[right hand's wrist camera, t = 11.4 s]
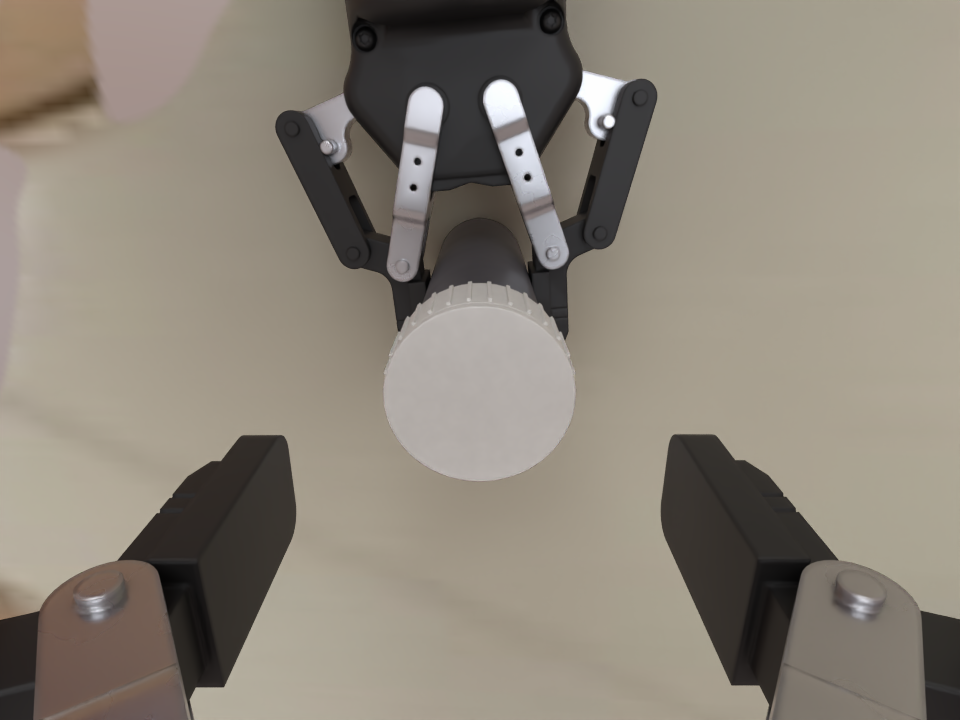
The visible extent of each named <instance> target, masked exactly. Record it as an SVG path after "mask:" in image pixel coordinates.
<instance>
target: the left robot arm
mask: <svg viewBox="0 0 960 720" xmlns="http://www.w3.org/2000/svg"><path fill="white" fill-rule="evenodd" d="M345 3H346V10H347V17H348V24H349V31H350V38H351V61H350V66H349V70H348V73H347V75H346V78H345V81H344V93H342V94H340V95H338V96H336V97H333V98H331V99H329V100H327V101H325V102H323V103H321V104H318V105H316V106H314V107H312V108H310V109H308V110H306V111H292V110H290V111H285V112H283V113H282V114H280V115H279V117H278V118H277V120H276V125H275V128H276V133H277V136H278V138H279V140H280V142H281V144H282V146H283V148H284V150H285V152H286V154H287V156H288V158H289V160H290V162H291V164H292V166H293V168H294V170H295V172H296V174H297V176H298V178H299V180H300V182H301V184H302V186H303V188H304V190H305V192H306V194H307V196H308V198H309V200H310V202H311V204H312V206H313V208H314V210H315V212H316V214H317V216H318V218H319V220H320V222H321V224H322V226H323V228H324V230H325V232H326V234H327V236H328V238H329V240H330V242H331V244H332V246H333V248H334V250H335V252H336V254H337V256H338V258H339V260H340V261H341V263H342V264H343V265H344V266H346V267H348V268H351V269H358V268H364V269H368V270H372V271H375V272H378V273H381V274H382V275H384V276H385V277H386V278H387V279H388V280H389V282H390V284H391V286H392V292H393V299H394V306H395V313H396V320H397V327H398V332H400V331H401V329H402V326H403V324H404V321H405V319H406V317H407V316H408V317H411V315H412V314H413V313H414V312H415V310H416V307H417V305H418V304H419V303H421V304H422V303H423V301H424V298H425V295H426V292H427V289H428V286H429V283H430V280H431V276H430V270H424V262H423V257H424V252H425V246H426V240H427V234H428V228H429V222H430V217H431V213H432V208H433V203H434V197H435V191H445V190H451V189H454V188H457V187H459V186H462V185H465V184H467V183H478V184H483V185H488V186H502V185H511V187H512V190H513V193H514V196H515V199H516V202H517V204H518V207H519V210H520V212H521V215H522V218H523V221H524V224H525V226H526V229H527V232H528V235H529V238H530V241H531V243H532V259H533V261H530V262H528V275H529V278H530V281H531V284H532V287H533V291H534V294H535V297H536V300H537V303H538V304H539V303H540V304H541V305H542V306H543V309H544V311H545V312H546V314H547V315H548V316H549V317H551V316H552V317H553V318H554V320H555V323H556V326H557V328H558V331H559V332H561V333H562V335H563V338H564V340H565V339H566V337H567V334H568V303H567V269H568V266H569V264H570V263H571V261H572V260H573V259H574V258H576V257H577V256H579V255H581V254H583V253H585V252H588V251H590V250H592V249H604V248H606V247H608V246H609V245H611V244H612V242H613V241H614V239H615V236H616V233H617V230H618V226H619V223H620V220H621V217H622V213H623V210H624V207H625V203H626V200H627V197H628V194H629V190H630V187H631V184H632V180H633V177H634V174H635V171H636V167H637V164H638V161H639V157H640V154H641V151H642V148H643V144H644V141H645V138H646V134H647V131H648V128H649V125H650V121H651V118H652V115H653V111H654V108H655V105H656V101H657V91H656V88H655V86H654V85H653V84H652V82H650V81H648V80H646V79H636V80H631V81H623V80H619V79H615V78H611V77H607V76H603V75H599V74H595V73H591V72H587V71H583V69H582V64H581V61H580V59H579V56H578V55H577V53H576V51H575V50H574V48H573V46H572V43H571V41H570V38H569V34H568V30H567V24H566V0H345ZM574 100H577V101H578V102H580V103H581V105H582V106H583V108H584V110H585V129H586V131H587V133H588V134H589V135H590V136H591V137H592V138H595V139H598V140H597V143H596V147H595V151H594V154H593V158H592V161H591V165H590V169H589V172H588V176H587V179H586V183H585V187H584V190H583V194H582V197H581V201H580V205H579V208H578V212H577V215H576V216H574V217H572V218H569V219H567V220H565V221H563V222H561V223H560V222H559V219H558V216H557V213H556V210H555V207H554V202H553V198H552V195H551V192H550V189H549V186H548V183H547V180H546V177H545V174H544V171H543V168H542V165H541V162H540V159H539V158H540V156H541V155H542V153H543V151H544V150H545V148H546V146H547V145H548V143H549V141H550V140H551V138H552V136H553V135H554V133H555V131H556V130H557V128H558V126H559V125H560V123H561V121H562V120H563V118H564V117H565V115H566V113H567V112H568V110H569V108H570V107H571V105H572V103H573V102H574ZM356 120H357V121H358V122H359V124H360V125H361V126H362V127H363V128H364V129H365V130H366V132H367V133H368V134H369V135H370V136H371V137H372V139H373V140H374V141H375V142H376V143H377V144H378V145H379V147H380V148H381V149H382V150H383V151H384V152H385V153H386V155H387V156H388V157H389V158H390V159H391V160H392V162H393V163H394V164H395V165H396V166H397V167H398V168H399V173H398V180H397V187H396V193H395V200H394V207H393V225H392V232H391V237H390V236H386V235H382V234H379V233H376V231H375V229H374V227H373V225H372V223H371V221H370V219H369V217H368V214H367V212H366V210H365V208H364V206H363V204H362V202H361V199H360V197H359V195H358V193H357V191H356V189H355V187H354V185H353V182H352V180H351V178H350V176H349V174H348V172H347V170H346V167H345V165H344V163H343V162H344V161H346V160H347V159H348V158H349V157H350V155H351V153H352V143H351V139H350V129H351V126H352V124H353V123H354V122H355V121H356Z"/></svg>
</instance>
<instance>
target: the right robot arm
mask: <svg viewBox="0 0 960 720" xmlns="http://www.w3.org/2000/svg"><path fill="white" fill-rule="evenodd" d="M661 522H662V529H663V533H664V536H665V539H666V541H667V543H668V545H669V548H670V550H671V552H672V554H673V557H674V559H675V561H676V563H677V565H678V568H679V570H680V572H681V574H682V577H683V579H684V581H685V583H686V585H687V588H688V590H689V592H690V594H691V596H692V599H693V601H694V603H695V605H696V608H697V610H698V612H699V614H700V616H701V619H702V621H703V623H704V625H705V628H706V630H707V632H708V634H709V636H710V639H711V641H712V643H713V645H714V648H715V650H716V652H717V654H718V656H719V659H720V661H721V663H722V665H723V667H724V670H725V672H726V674H727V676H728V679H729V681H730V683H731V685H760V687H761V689H762V691H763V693H764V695H765V697H766V699H767V701H768V703H769V708H768V712H767V716H766V720H960V619H956V618H951V617H947V616H942V615H937V614H933V613H928V612H924V611H920V609H919V607H918V605H917V603H916V602H915V600H914V599H913V598H912V596H911V595H910V594H909V593H908V592H907V591H906V590H905V589H903V588H902V587H901V586H900V585H898V584H897V583H896V582H894V581H893V580H891V579H890V578H888V577H886V576H884V575H882V574H881V573H879V572H876V571H874V570H872V569H870V568H867V567H864V566H861V565H858V564H854V563H851V562H845V561H839V560H838V559H837V558H836V556H835V555H834V554H833V553H832V552H831V550H830V549H829V548H828V547H827V545H826V544H825V543H824V542H823V541H822V539H821V538H820V537H819V536H818V535H817V533H816V532H815V531H814V530H813V529H812V527H811V526H810V525H809V524H808V523H807V521H806V520H805V519H804V518H803V517H802V515H801V514H800V513H799V512H796V508H795V507H794V506H793V504H792V503H791V502H790V501H789V500H788V498H787V497H784V496H783V492H782V491H781V490H780V489H779V488H778V486H777V485H776V484H775V483H774V482H773V480H772V479H771V478H770V477H769V476H768V475H767V474H765V473H764V472H762V471H761V470H759V469H757V468H756V467H754V466H753V465H751V464H750V463H748V462H747V461H745V460H735V459H734V458H733V457H732V455H731V454H730V453H729V452H728V450H727V449H726V448H725V446H724V445H723V444H722V442H721V441H720V440H719V439H718V437H717V436H715V435H712V434H675V435H673V436H672V437H671V440H670V443H669V447H668V455H667V462H666V470H665V478H664V485H663V493H662V500H661ZM295 523H296V502H295V494H294V487H293V479H292V472H291V464H290V457H289V449H288V444H287V441H286V439H285V437H284V436H282V435H243V436H241V437H240V438H239V439H238V440H237V441H236V443H235V444H234V445H233V446H232V448H231V449H230V450H229V452H228V453H227V454H226V455H225V457H224V458H223V459H222V461H211V462H210V463H208V464H207V465H205V466H203V467H202V468H200V469H199V470H197V471H196V472H194V473H193V474H191V475H189V476H188V477H187V478H186V479H185V480H184V482H183V483H182V484H181V485H180V486H179V487H178V489H177V490H176V491H175V492H174V493H173V497H172V498H169V499H168V501H167V502H166V503H165V504H164V505H163V507H162V508H161V509H160V513H157V514H156V515H155V516H154V517H153V519H152V520H151V521H150V522H149V523H148V525H147V526H146V527H145V528H144V529H143V531H142V532H141V533H140V534H139V535H138V536H137V538H136V539H135V540H134V541H133V542H132V544H131V545H130V546H129V547H128V548H127V550H126V551H125V552H124V553H123V554H122V556H121V557H120V558H119V559H118V560H117V561H115V562H109V563H106V564H102V565H99V566H96V567H93V568H90V569H88V570H86V571H84V572H81V573H79V574H77V575H76V576H74V577H72V578H70V579H69V580H67V581H66V582H64V583H63V584H62V585H60V586H59V587H58V588H57V589H55V590H54V591H53V592H52V593H51V594H50V595H49V596H48V598H47V599H46V600H45V602H44V603H43V605H42V607H41V609H40V611H38V612H34V613H30V614H26V615H21V616H17V617H12V618H8V619H3V620H0V720H194V716H193V712H192V708H191V704H190V698H191V696H192V694H193V692H194V690H195V688H196V687H224V686H225V684H226V682H227V680H228V677H229V675H230V673H231V671H232V669H233V666H234V664H235V662H236V660H237V658H238V656H239V653H240V651H241V649H242V647H243V645H244V642H245V640H246V638H247V636H248V634H249V631H250V629H251V627H252V625H253V623H254V621H255V618H256V616H257V614H258V612H259V610H260V607H261V605H262V603H263V601H264V599H265V596H266V594H267V592H268V590H269V588H270V586H271V583H272V581H273V579H274V577H275V575H276V572H277V570H278V568H279V566H280V564H281V561H282V559H283V557H284V555H285V553H286V551H287V548H288V546H289V544H290V542H291V539H292V537H293V534H294V529H295Z"/></svg>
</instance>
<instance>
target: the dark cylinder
mask: <svg viewBox="0 0 960 720" xmlns="http://www.w3.org/2000/svg"><path fill="white" fill-rule="evenodd" d="M469 281H472V283H487V281H490V282H491V284H496V285H500V286H504V287H506V285H509V286H510V289H513V290H516V291H518V292H520V293H522V294H523V293H524V292H525V293H527V295H528V297H529V298H530V299H531V300H533V301H534V302H535V303H537V300H536V297H535V294H534V291H533V287H532V284H531V281H530V278H529V275H528V272H527V269H526V266H525V263H524V259H523V256H522V253H521V250H520V247H519V244H518V242H517V240H516V238H515V237H514V235H513V234H512V233H511V232H510V231H509V230H508V229H507V228H506V227H505V226H504V225H502V224H500V223H498V222H496V221H493V220H490V219H471V220H468V221H465V222H463V223H461V224H459V225H458V226H456V227H455V228H454V229H453V230H452V231H451V232H450V233H449V234H448V235H447V237H446V238H445V240H444V242H443V245H442V247H441V250H440V253H439V256H438V259H437V262H436V265H435V268H434V271H433V274H432V277H431V280H430V283H429V286H428V289H427V292H426V295H425V298H424V301H423V303H424V302H425V301H427V300H428V299H429V298H431V296H432V294H433V293H435V292H436V294H438V293H439V292H442V291H444V290H446V289H449V286H451V285H453V286H454V287H455V286H459V285H464V284H468V282H469ZM423 303H422V304H423ZM537 304H538V303H537Z"/></svg>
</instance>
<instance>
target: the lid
mask: <svg viewBox="0 0 960 720" xmlns="http://www.w3.org/2000/svg"><path fill="white" fill-rule="evenodd" d="M389 356H390V357H389V360H388V362H387V365H386V367H385V370H384V374H385V379H384V388H383V399H384V408H385V412H386V416H387V419H388V422H389V424H390V427H391V429H392V431H393V433H394V434H395V436H396V438H397V439H398V441H399V442H400V443H401V445H402V446H403V447H404V448H405V450H406V451H407V452H408V453H409V454H410V455H411V456H412V457H414V458H415V459H416V460H417V461H419V462H420V463H421V464H423V465H425V466H426V467H428V468H429V469H431V470H433V471H435V472H437V473H440V474H442V475H445V476H448V477H451V478H455V479H460V480H466V481H493V480H500V479H504V478H508V477H511V476H514V475H517V474H520V473H522V472H524V471H526V470H528V469H530V468H532V467H533V466H535V465H536V464H538V463H539V462H541V461H542V460H543V459H544V458H545V457H547V456H548V455H549V454H550V453H551V452H552V451H553V450H554V449H555V447H556V446H557V445H558V444H559V442H560V441H561V439H562V438H563V437H564V435H565V433H566V431H567V429H568V427H569V425H570V422H571V419H572V416H573V413H574V408H575V400H576V387H575V379H574V375H575V370H574V367H573V364H572V362H571V359H570V356H571V355H570V353H569V350H568V348H567V345H566V343H565V340H564V338H563V335H562V333H561V332H559V331H558V328H557V326H556V323H555V320H554V318H553V317H552V316H551V317H549V316H548V315H547V314H546V312H545V311H544V309H543V306H542V305H541V304H540V303H539V304H537V303H535V302H534V301H533V300H531V299H530V298H529V297H528V295H527V293H525V292H524V293H523V294H522V293H520V292H518V291H516V290H513V289H510V286H509V285H506V287H504V286H500V285H496V284H491V282H490V281H487V283H472V281H469V282H468V284H464V285H459V286H455V287H454V286H453V285H451V286H449V289H446V290H444V291H442V292H439V293H438V294H436V292H435V293H433V294H432V296H431V298H429V299H428V300H427V301H425V302H424V303H423V304H421V303H419V304H418V305H417V307H416V310H415V312H414V313H413V314H412V315H411V317H408V316H407V317H406V319H405V321H404V324H403V326H402V329H401V331H400V332H398V334H397V336H396V339H395V341H394V343H393V346H392V348H391V351H390V353H389Z"/></svg>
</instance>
